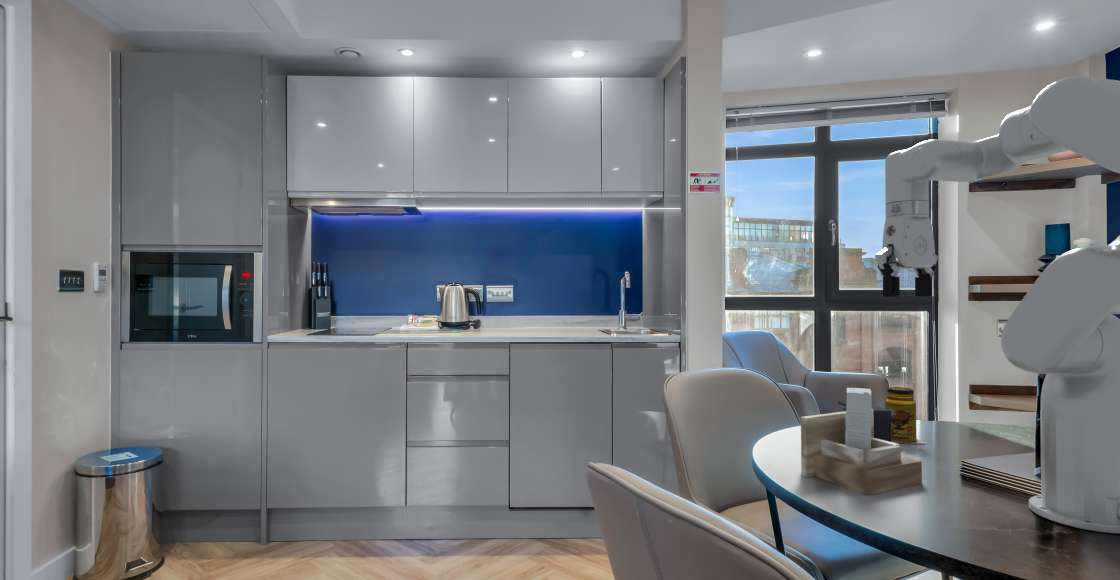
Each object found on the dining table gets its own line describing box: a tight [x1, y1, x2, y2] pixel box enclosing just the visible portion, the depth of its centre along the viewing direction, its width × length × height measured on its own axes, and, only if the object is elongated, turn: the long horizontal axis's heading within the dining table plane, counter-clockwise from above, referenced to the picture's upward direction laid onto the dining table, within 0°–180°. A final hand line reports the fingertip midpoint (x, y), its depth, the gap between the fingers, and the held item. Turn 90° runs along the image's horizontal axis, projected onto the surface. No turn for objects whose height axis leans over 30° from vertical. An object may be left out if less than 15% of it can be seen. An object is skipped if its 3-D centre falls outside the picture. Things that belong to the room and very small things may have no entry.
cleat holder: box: [800, 409, 923, 496], centre depth 105 cm, size 14×18×11 cm
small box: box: [838, 400, 892, 442], centre depth 120 cm, size 11×6×10 cm, turn 179°
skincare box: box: [845, 387, 873, 450], centre depth 105 cm, size 6×4×12 cm
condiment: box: [884, 386, 927, 445], centre depth 132 cm, size 7×8×12 cm
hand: (907, 296), depth 115 cm, fingers open, 9 cm apart
